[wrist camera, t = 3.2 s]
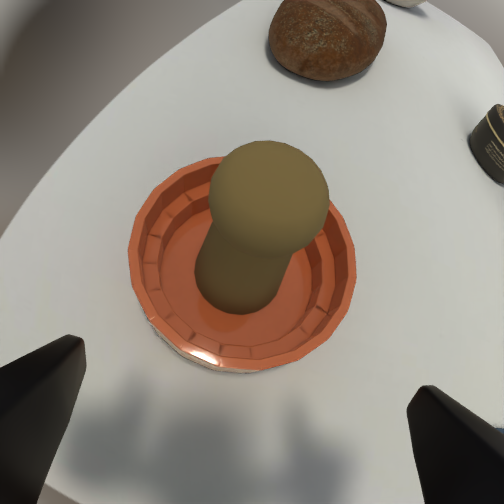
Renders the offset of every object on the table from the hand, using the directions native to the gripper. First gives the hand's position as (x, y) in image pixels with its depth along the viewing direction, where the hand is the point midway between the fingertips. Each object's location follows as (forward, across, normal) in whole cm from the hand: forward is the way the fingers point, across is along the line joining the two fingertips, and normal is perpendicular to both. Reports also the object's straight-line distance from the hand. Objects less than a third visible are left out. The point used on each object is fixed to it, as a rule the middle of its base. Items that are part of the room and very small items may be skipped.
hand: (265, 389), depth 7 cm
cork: (+15, 0, +4) cm, 15 cm away
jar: (+32, -34, -13) cm, 49 cm away
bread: (+44, -8, -25) cm, 52 cm away
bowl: (+15, 0, +4) cm, 15 cm away
